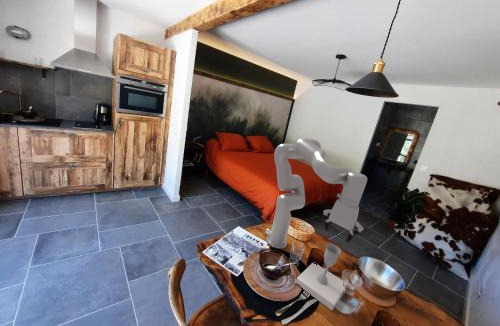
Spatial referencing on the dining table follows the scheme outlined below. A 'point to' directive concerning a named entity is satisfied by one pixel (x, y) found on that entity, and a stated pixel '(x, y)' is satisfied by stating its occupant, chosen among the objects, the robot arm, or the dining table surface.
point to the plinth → (321, 292)
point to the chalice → (329, 261)
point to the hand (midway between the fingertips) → (337, 235)
